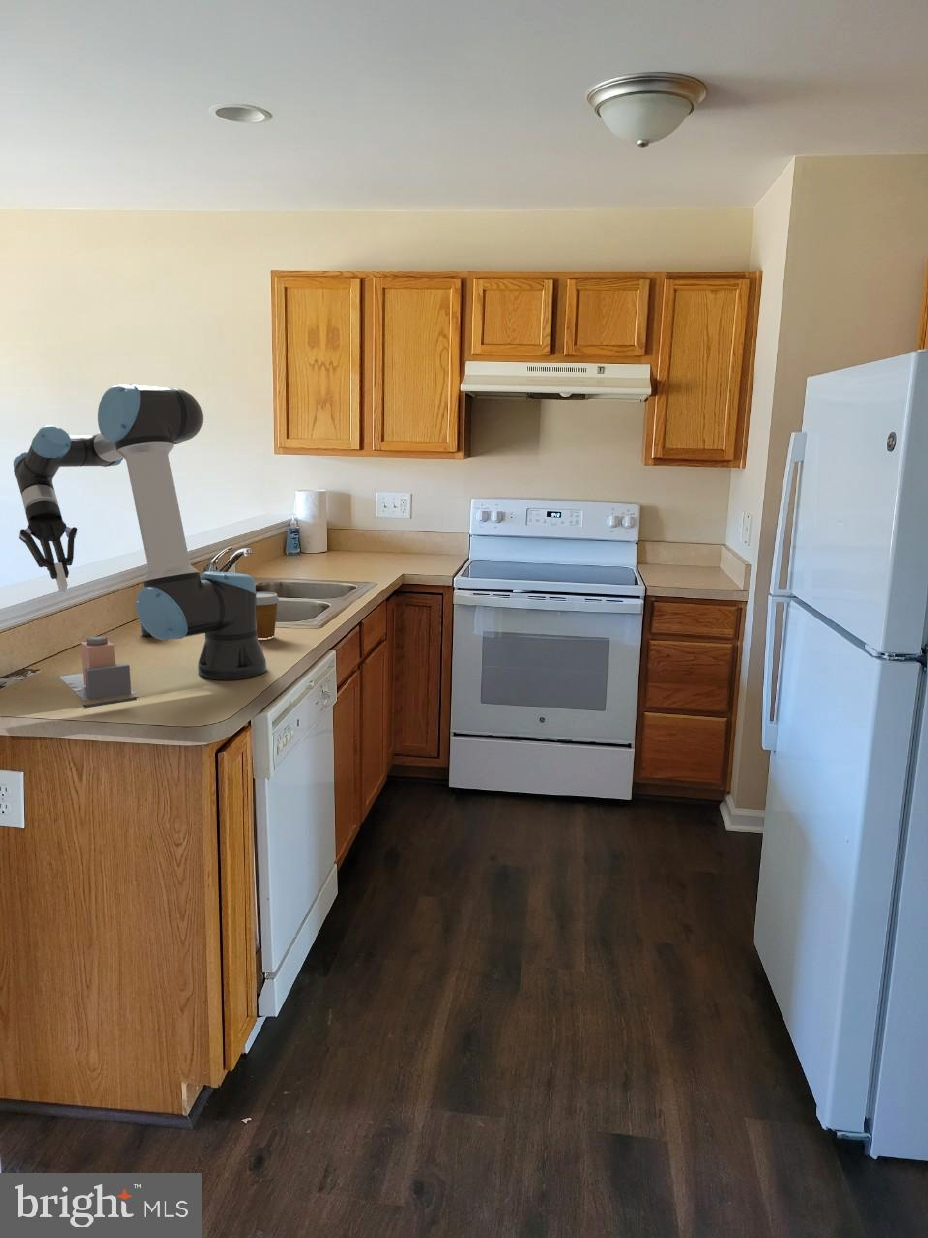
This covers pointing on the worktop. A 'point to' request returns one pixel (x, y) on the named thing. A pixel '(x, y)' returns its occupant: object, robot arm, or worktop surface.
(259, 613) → the disposable coffee cup
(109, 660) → the terracotta plug block
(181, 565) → the robot arm
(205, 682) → the worktop surface
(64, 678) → the slate track
